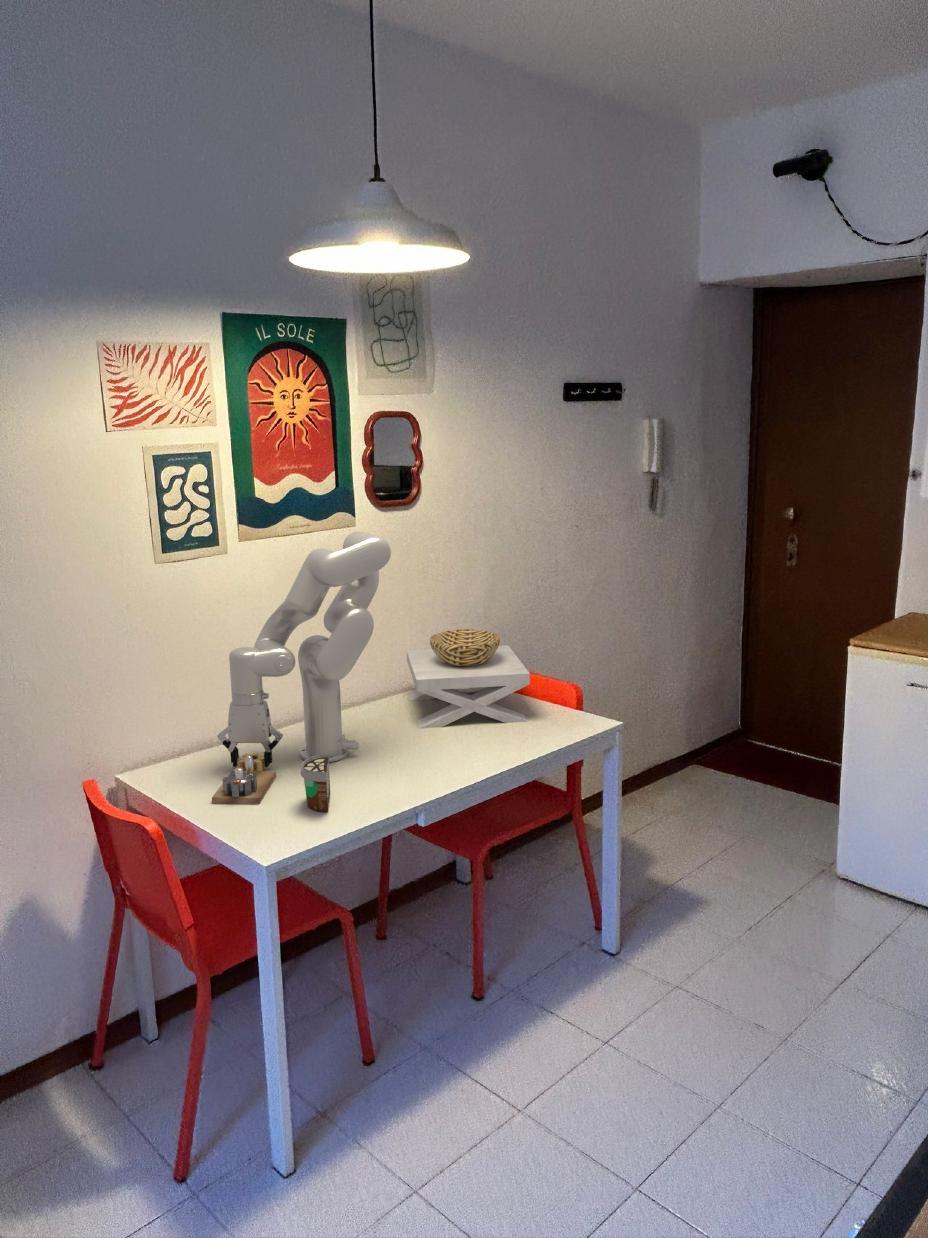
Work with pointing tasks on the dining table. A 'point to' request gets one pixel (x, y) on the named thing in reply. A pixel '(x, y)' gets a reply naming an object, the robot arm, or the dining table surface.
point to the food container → (317, 782)
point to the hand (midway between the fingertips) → (251, 765)
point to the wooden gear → (257, 761)
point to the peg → (249, 764)
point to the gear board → (263, 786)
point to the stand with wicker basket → (466, 676)
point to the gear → (239, 783)
